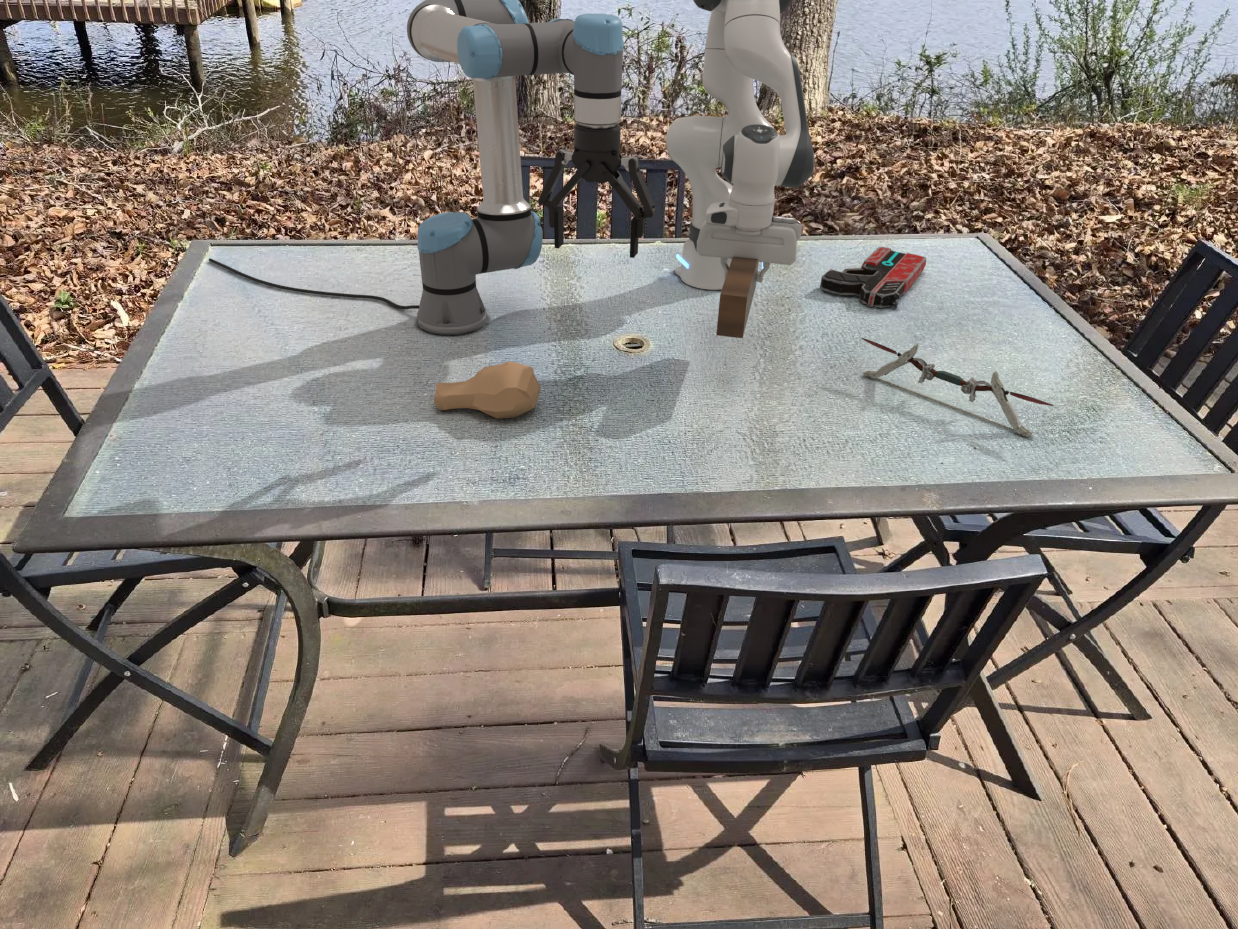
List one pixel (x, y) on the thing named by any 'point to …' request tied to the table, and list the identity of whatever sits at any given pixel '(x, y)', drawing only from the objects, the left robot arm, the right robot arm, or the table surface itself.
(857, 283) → the gun
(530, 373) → the squash
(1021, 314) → the table surface
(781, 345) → the table surface
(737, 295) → the bar
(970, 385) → the bow
